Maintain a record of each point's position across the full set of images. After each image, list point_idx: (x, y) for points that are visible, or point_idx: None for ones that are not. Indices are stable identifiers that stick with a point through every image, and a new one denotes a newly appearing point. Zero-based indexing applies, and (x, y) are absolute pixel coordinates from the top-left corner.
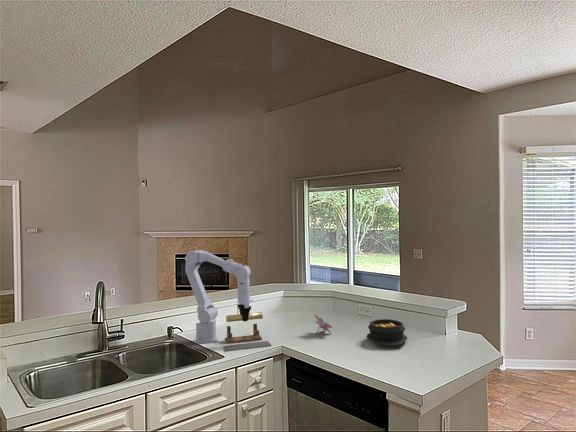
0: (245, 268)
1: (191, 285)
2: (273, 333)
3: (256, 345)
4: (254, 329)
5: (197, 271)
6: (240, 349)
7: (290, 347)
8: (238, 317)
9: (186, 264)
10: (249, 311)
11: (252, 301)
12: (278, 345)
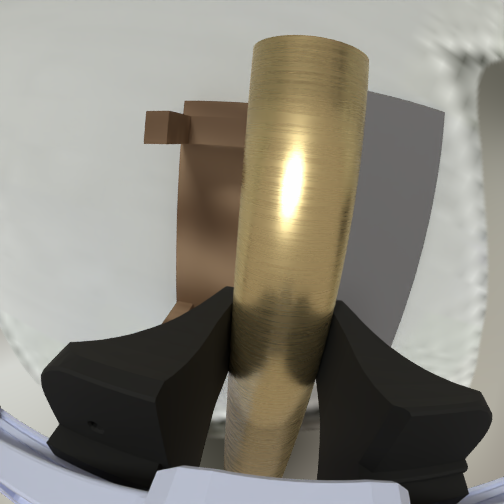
0: None
1: None
2: (172, 5)
3: (407, 199)
4: (185, 138)
5: None
6: (404, 302)
7: (492, 45)
8: (303, 416)
9: None
10: (421, 370)
11: (407, 499)
12: (445, 71)
